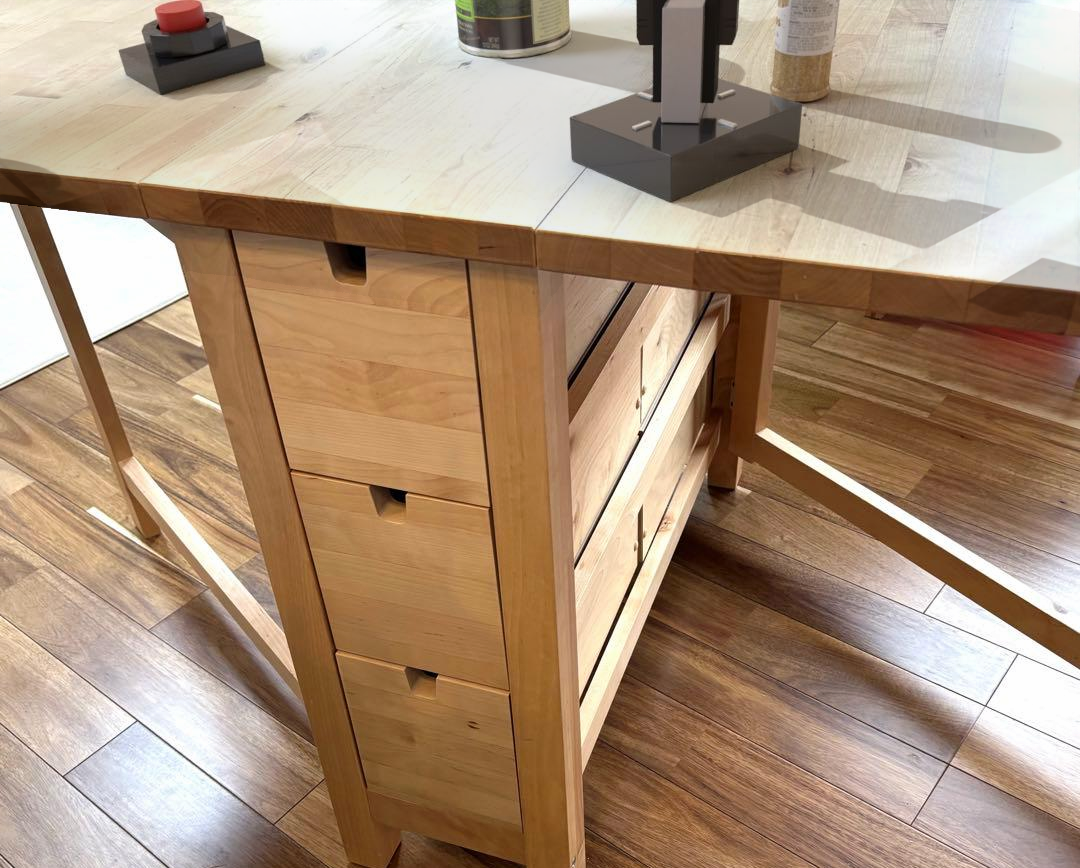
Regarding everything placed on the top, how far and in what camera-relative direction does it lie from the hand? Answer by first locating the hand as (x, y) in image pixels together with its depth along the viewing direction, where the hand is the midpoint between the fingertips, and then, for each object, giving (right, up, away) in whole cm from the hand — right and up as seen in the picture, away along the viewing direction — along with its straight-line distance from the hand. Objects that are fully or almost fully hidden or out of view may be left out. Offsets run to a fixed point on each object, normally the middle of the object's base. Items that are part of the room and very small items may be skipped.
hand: (685, 94), depth 70 cm
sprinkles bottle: (+10, +4, +10) cm, 15 cm away
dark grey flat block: (0, -3, +3) cm, 4 cm away
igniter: (-41, +13, +24) cm, 49 cm away
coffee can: (-12, +15, +25) cm, 31 cm away
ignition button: (-41, +15, +22) cm, 49 cm away
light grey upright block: (0, -1, +1) cm, 1 cm away
